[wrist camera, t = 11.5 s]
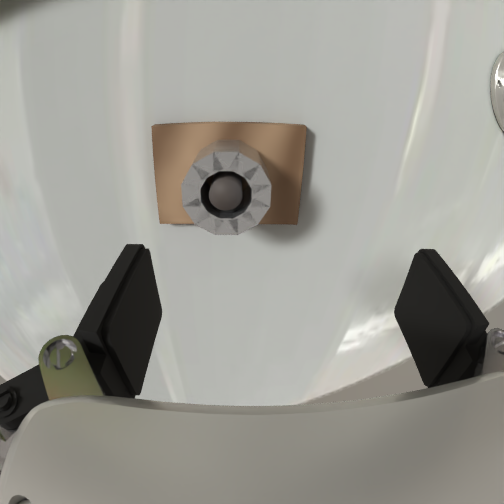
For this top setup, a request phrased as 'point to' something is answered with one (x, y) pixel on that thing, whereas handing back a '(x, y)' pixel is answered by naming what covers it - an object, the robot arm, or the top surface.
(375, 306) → the top surface
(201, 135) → the post block
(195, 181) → the steel ring
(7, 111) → the top surface
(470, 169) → the top surface
